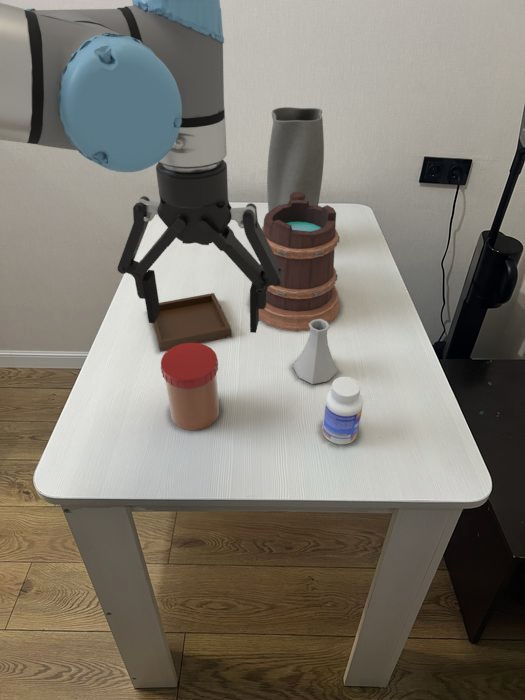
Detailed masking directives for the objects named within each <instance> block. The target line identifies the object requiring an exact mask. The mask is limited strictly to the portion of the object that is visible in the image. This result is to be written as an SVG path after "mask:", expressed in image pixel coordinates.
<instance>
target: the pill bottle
mask: <svg viewBox="0 0 525 700" xmlns="http://www.w3.org/2000/svg"><path fill="white" fill-rule="evenodd" d="M324 401H325V402H324V410H323V411H324V412H323V419H322V428H321V429H322V434H323V436H324V437H325V438H326V439H327V440H328V441H329V442H331V443H333V444H336V445H348V444H351V443H352V442H353V441H355V439H356V438H357V436H358V433H359V428H360V424H361V423H360V422H361V416H362V413H363V407H364V399H363V396H362V394H361V385H360V383H359V382H358V380H356V379H354V378H353V377H349V376H339V377H337V378H335V379H334V380H333V382H332V384H331V388H330V390H329V391H328V392H327V393H326V396H325V400H324Z"/></svg>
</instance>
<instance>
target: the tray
mask: <svg viewBox="0 0 525 700" xmlns="http://www.w3.org/2000/svg"><path fill="white" fill-rule="evenodd" d="M159 306H160V313H159V315H158V317H157V319H156V321H155V323H151V325H152V329H153V332H154V337H155V340H156V343H157V346H158V350H159V352H162V351H168V350H169V349H171V348H173V347H175V346H177V345H180V344H184V343H200V344H203V343H207V342H212V341H216V340H222V339H227V338H231V337H232V328H231V325H230V324H229V321H228V319H227V317H226V315H225V312H224V311H223V309H222V307H221V304H220V303H219V300H218V298H217V296H216V294H215V292H211V293H206V294H201V295H200V294H199V295H195V296H189V297H184V298H179V299H172V300H166V301H161V302H159Z"/></svg>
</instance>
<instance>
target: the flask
mask: <svg viewBox="0 0 525 700" xmlns="http://www.w3.org/2000/svg"><path fill="white" fill-rule="evenodd" d="M309 327H310V330H309V335H308V338H307V341H306V343H305V345H304V347H303V348H302V350H301V352H300V353H299V356H298V357H297V358H296V360H295V362H294V363H293V365H292V367H293V369H294V371H295V373H296V375H297V377H298V378H300V379H301V380H303V381H305V382H307V383H309V384H311V385H315V384H320V383H326V382H329V381H330V380H331V379H333V377H334V376H335V375H336V374H337V373H338V371H337V367H336V365H335V362H334V359H333V357H332V356H333V355H332V354H331V351H330V350H331V349H330V347H329V341H328V330H329V329H330V328H331V325H330V323H328V322H327V321H324V320H322V319H316V320H313V321H311V322H310V323H309Z"/></svg>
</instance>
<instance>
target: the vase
mask: <svg viewBox="0 0 525 700" xmlns="http://www.w3.org/2000/svg"><path fill="white" fill-rule="evenodd" d="M322 114H323V110H322V109H321V108H316V107H291V106H290V107H289V106H285V107H278V108H277V107H276V108H274V109H272V110H271V118H272V126H271V132H270V133H271V134H270V139H269V147H268V156H267V169H266V171H267V173H266V174H267V175H266V191H267V192H266V196H267V210H268V211H267V213H268V212H270V211H271V210H272V209H274V208H275V207H277V206H278V205H283V204H288V202H289V200H290V195H291V194H292V193H293V192H302V193H303V194H304V195H305V200H308V201H309V206H319V205H320V197H321V189H322V182H323V173H324V160H325V141H324V138H325V137H324V124H323V123H324V122H323V120H324V119H323V115H322Z"/></svg>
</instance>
